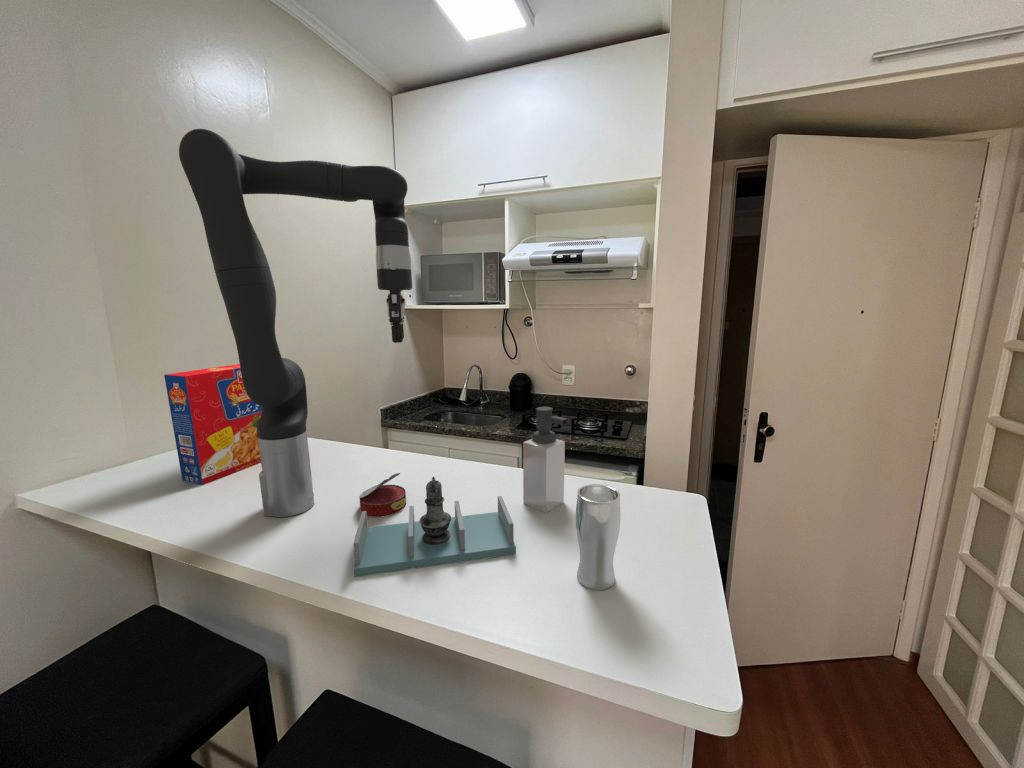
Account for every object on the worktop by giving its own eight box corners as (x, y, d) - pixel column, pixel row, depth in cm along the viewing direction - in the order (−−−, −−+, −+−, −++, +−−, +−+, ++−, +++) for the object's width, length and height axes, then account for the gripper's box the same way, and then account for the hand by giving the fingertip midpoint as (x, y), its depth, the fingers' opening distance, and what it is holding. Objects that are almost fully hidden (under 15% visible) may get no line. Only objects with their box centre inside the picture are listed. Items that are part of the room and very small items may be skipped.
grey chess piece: (455, 528, 79) (453, 470, 77) (447, 546, 74) (444, 484, 71) (425, 527, 80) (422, 469, 78) (415, 544, 74) (412, 482, 72)
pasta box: (202, 485, 104) (185, 376, 98) (182, 480, 106) (164, 374, 101) (296, 449, 129) (286, 361, 124) (277, 446, 132) (267, 360, 127)
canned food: (376, 537, 88) (350, 507, 83) (367, 512, 96) (344, 483, 92) (421, 505, 91) (399, 473, 86) (409, 484, 100) (388, 454, 95)
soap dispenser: (554, 516, 87) (555, 416, 83) (523, 503, 93) (523, 408, 89) (572, 505, 91) (574, 409, 87) (541, 493, 97) (542, 403, 93)
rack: (353, 576, 68) (351, 546, 67) (363, 534, 80) (361, 508, 79) (515, 553, 74) (515, 525, 73) (501, 517, 86) (501, 493, 85)
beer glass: (570, 566, 70) (571, 484, 67) (609, 563, 71) (613, 482, 68) (580, 594, 64) (582, 504, 61) (623, 591, 64) (628, 502, 61)
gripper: (379, 270, 98) (384, 338, 101) (373, 265, 84) (378, 344, 87) (411, 270, 99) (415, 338, 102) (410, 265, 86) (414, 343, 89)
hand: (398, 340), depth 95 cm, fingers open, 8 cm apart
